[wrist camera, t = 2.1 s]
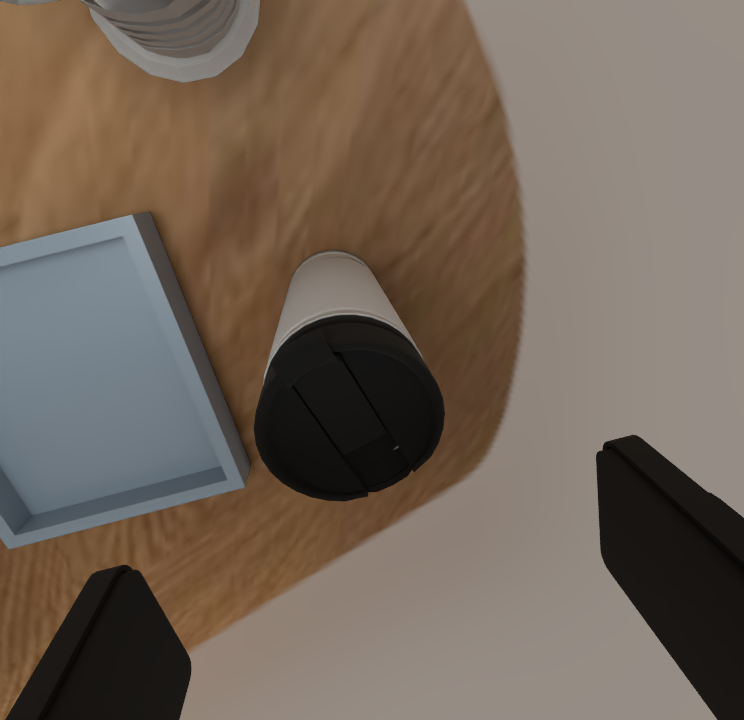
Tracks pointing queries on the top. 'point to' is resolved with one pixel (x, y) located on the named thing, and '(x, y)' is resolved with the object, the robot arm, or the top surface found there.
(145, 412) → the tray
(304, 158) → the top surface
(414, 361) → the travel mug
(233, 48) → the french press
